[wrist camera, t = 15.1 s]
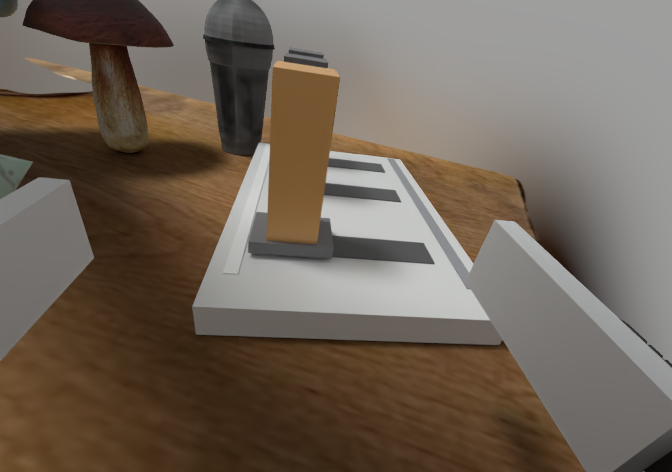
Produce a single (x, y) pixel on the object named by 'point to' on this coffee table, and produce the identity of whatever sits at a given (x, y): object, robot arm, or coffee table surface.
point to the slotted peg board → (345, 263)
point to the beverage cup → (239, 70)
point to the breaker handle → (298, 163)
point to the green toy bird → (11, 173)
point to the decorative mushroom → (107, 57)
